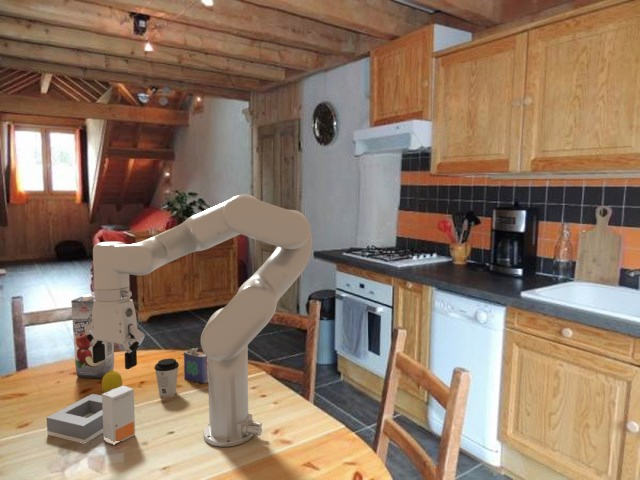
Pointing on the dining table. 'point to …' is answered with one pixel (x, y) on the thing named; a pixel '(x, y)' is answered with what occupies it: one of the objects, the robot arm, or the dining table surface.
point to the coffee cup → (167, 377)
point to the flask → (195, 367)
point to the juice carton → (82, 344)
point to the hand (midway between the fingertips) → (114, 364)
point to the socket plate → (78, 420)
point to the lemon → (111, 381)
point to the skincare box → (118, 414)
